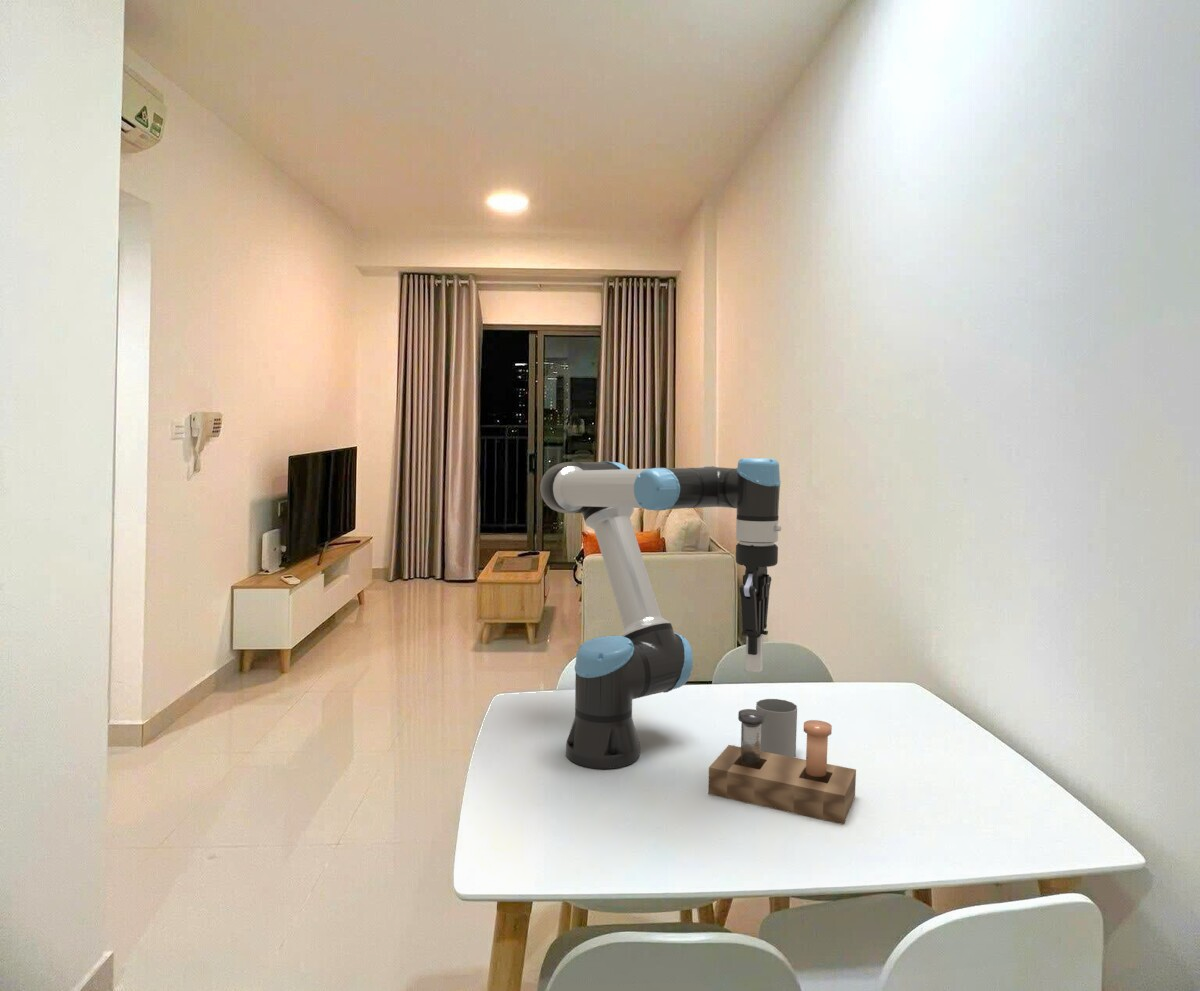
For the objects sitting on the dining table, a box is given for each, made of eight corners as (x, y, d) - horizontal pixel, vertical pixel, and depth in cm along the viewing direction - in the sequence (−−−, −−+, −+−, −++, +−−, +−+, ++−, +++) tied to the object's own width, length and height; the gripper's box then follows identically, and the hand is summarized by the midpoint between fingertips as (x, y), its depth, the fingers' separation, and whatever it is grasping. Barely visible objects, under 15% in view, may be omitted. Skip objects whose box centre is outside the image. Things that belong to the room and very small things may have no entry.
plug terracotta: (799, 774, 140) (801, 726, 139) (805, 764, 144) (806, 718, 143) (827, 780, 137) (828, 731, 137) (832, 770, 142) (833, 723, 141)
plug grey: (734, 761, 145) (735, 715, 144) (741, 752, 149) (742, 707, 149) (759, 766, 143) (761, 719, 142) (766, 757, 147) (767, 711, 146)
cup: (796, 762, 158) (797, 714, 158) (754, 758, 160) (756, 710, 159) (794, 746, 167) (796, 700, 166) (755, 743, 168) (756, 697, 168)
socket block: (708, 793, 144) (708, 767, 143) (728, 769, 154) (728, 744, 154) (843, 824, 133) (844, 795, 133) (855, 796, 144) (856, 769, 143)
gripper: (768, 548, 135) (764, 682, 137) (786, 540, 147) (782, 664, 149) (726, 545, 139) (723, 676, 140) (746, 537, 150) (744, 659, 152)
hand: (753, 670), depth 144 cm, fingers closed
